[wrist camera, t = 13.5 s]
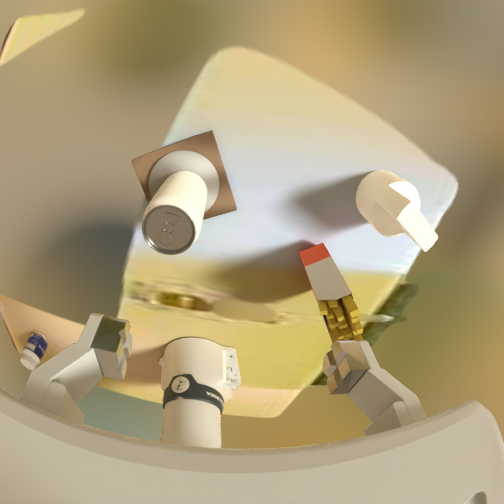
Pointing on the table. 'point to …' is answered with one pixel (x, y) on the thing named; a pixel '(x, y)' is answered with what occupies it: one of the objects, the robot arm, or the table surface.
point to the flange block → (189, 159)
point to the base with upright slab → (393, 208)
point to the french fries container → (332, 295)
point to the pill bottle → (34, 350)
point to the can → (175, 213)
